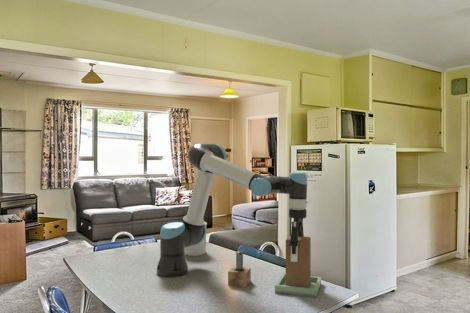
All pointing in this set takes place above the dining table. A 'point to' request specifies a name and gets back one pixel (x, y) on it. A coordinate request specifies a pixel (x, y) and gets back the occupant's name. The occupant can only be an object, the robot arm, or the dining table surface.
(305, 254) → the wooden block
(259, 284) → the dining table surface
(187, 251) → the utensil holder
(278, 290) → the tray
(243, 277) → the wooden socket block
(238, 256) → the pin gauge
